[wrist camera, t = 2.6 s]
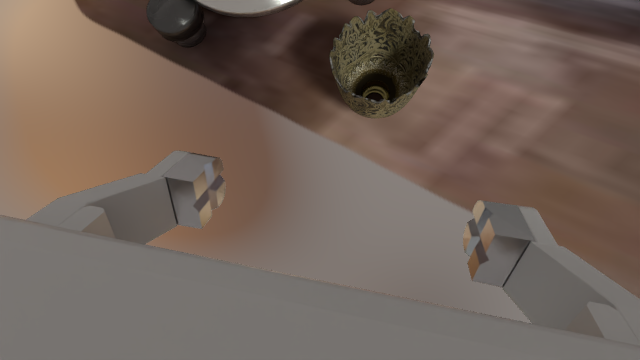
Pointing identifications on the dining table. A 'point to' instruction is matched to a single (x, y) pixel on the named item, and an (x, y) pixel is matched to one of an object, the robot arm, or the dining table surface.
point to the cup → (380, 62)
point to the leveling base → (187, 15)
